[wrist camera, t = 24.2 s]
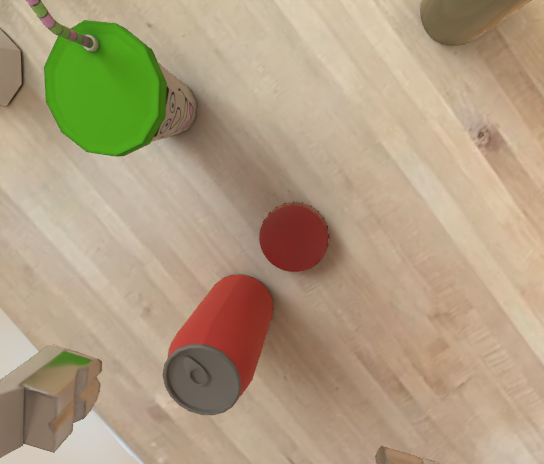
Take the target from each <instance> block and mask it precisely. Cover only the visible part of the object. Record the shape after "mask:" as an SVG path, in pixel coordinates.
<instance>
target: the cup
mask: <svg viewBox="0 0 544 464" xmlns="http://www.w3.org/2000/svg"><path fill="white" fill-rule="evenodd" d="M26 1H27V2H28V4H29V5H30V6H31V8H32V9H33V10H34V12H35V13H36V14H37V16H38V17H39V18H40V20H41V21H42V23H43V24H44V25H45V26H46V27H47V28H48V29H49V30H50V31H51V32H53V33H54V34H56V35H58V38H57V40H56V42H55V44H54V46H53V49H52V51H51V53H50V55H49V57H48V59H47V62H46V64H45V66H44V72H45V92H46V103H47V104H48V106H49V108H50V110H51V112H52V114H53V116H54V118H55V120H56V122H57V124H58V126H59V128H60V130H61V132H62V133H63V134H65V135H66V136H67V137H68V138H70V139H71V140H72V141H74V142H75V143H76V144H77V145H79V146H80V147H81V148H83V149H84V150H85V151H86V152H90V153H97V154H103V155H110V156H125V155H127V154H129V153H131V152H133V151H136V150H138V149H140V148H142V147H144V146H146V145H148V144H150V142H152V141H155V140H159V139H162V138H166V137H169V136H173V135H176V134H179V133H181V132H183V131H185V130H188V129H189V128H190V127H191V125H192V124H193V122H194V120H195V119H196V113H197V102H196V100H195V98H194V95H193V93H192V91H191V90H190V89H189V88H188V87H187V86H185V85H184V84H183V83H182V82H181V81H179V80H178V79H177V78H176V77H175V76H173V75H172V74H171V73H170V72H168V71H167V70H166V69H165V68H164V67H162V66H161V65H160V64H159V63H158V62H157V59H156V57H155V55H154V53H153V50H152V49H151V48H149V47H148V46H147V45H146V44H144V43H143V42H142V41H141V40H139V39H138V38H137V37H136V36H134V35H133V34H132V33H131V32H129V31H128V30H127V29H125V28H124V27H122V26H120V25H118V24H116V23H107V22H97V21H87V20H84V21H83V22H81V23H79V24H78V25H76V26H74V27H73V28H71V29H69V28H67V27H65V26H63V25H60V24H59V23H57V22H56V21H55V20H54V19H53V18H52V16H51V15H50V13H49V12H48V10H47V9H46V8H45V6H44V5H43V3H42V2H41V0H26Z"/></svg>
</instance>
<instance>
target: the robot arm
mask: <svg viewBox="0 0 544 464" xmlns="http://www.w3.org/2000/svg"><path fill="white" fill-rule="evenodd" d="M101 371H102V361H100V360H99V359H97V358H94V357H91V356H88V355H85V354H82V353H79V352H76V351H73V350H70V349H66V348H63V347H60V346H57V345H54V344H53V345H49V346H47V347H45V348H44V349H42V350H41V351H40V352H38V353H37V354H36V355H34V356H33V357H31V358H30V359H29V360H27V361H26V362H24V363H23V364H22V365H20V366H19V367H17V368H16V369H15V370H13V371H12V372H11V373H9V374H8V375H6V376H5V377H4V378H2V379H1V380H0V458H1V457H3V456H4V455H6V454H8V453H10V452H12V451H14V450H16V449H18V448H19V447H21V446H23V444H27V445H30V446H33V447H37V448H40V449H43V450H47V451H50V452H53V453H54V452H55V451H56V450H57V449H58V447H59V446H60V445H61V444H62V443H63V442H64V441H65V440H66V438H67V437H68V436H69V435H70V434H71V433H72V431H73V423H75V422H77V421H79V420H81V419H84V418H85V417H86V416H87V414H88V413H89V412H90V411H91V409H92V408H93V406H94V404H95V402H96V400H97V398H98V395H99V392H100V382H99V380H98V379H97V376H98V375H99V373H100V372H101ZM375 457H376V463H377V464H439V463H438V462H435V461H431V460H428V459H425V458H421V457H417V456H414V455H410V454H407V453H404V452H400V451H397V450H394V449H390V448H387V447H383V446H381V447H380V448H379V449H378V452H377V454H376V456H375Z"/></svg>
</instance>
